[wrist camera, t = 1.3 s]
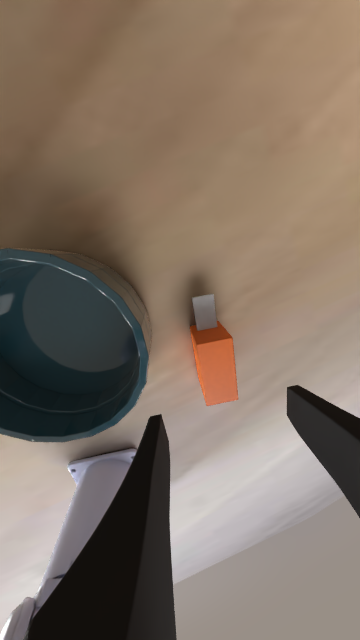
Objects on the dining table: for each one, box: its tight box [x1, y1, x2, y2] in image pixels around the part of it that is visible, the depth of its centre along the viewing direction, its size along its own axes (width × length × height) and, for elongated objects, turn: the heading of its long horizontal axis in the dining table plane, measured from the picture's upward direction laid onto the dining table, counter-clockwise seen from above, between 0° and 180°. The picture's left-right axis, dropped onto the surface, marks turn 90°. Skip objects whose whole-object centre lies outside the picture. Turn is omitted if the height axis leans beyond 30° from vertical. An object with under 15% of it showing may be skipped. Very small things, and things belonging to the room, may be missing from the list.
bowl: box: [0, 248, 152, 442], centre depth 15 cm, size 14×14×5 cm
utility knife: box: [190, 294, 238, 406], centre depth 17 cm, size 9×3×4 cm, turn 10°
